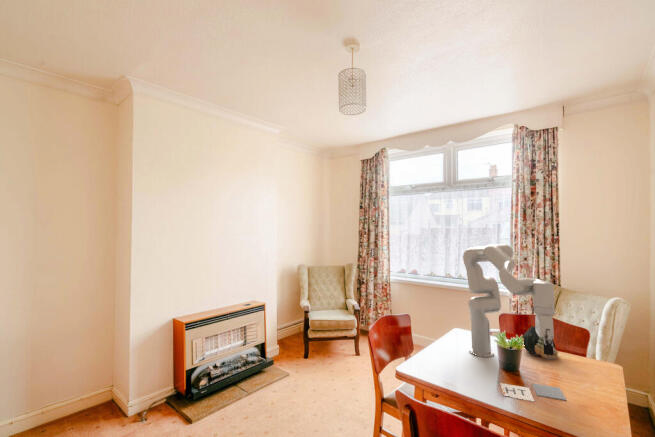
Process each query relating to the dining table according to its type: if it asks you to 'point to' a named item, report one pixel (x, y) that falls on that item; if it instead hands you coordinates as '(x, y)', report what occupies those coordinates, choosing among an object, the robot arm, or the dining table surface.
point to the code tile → (517, 392)
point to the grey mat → (548, 392)
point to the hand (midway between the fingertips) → (546, 350)
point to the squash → (532, 340)
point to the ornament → (540, 350)
